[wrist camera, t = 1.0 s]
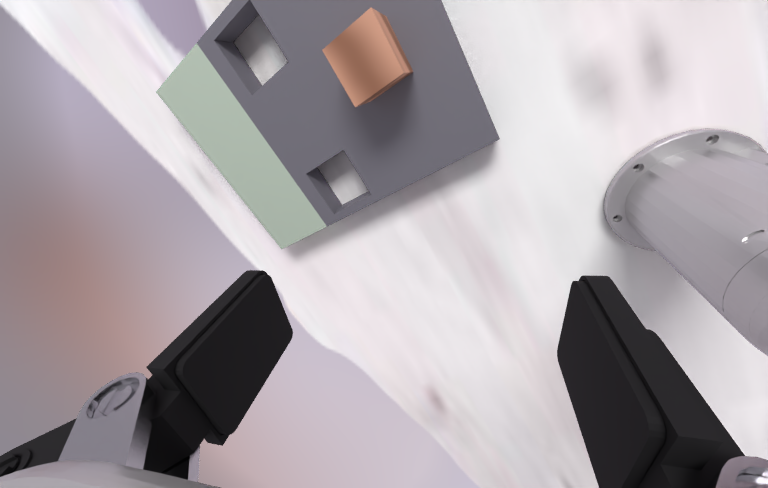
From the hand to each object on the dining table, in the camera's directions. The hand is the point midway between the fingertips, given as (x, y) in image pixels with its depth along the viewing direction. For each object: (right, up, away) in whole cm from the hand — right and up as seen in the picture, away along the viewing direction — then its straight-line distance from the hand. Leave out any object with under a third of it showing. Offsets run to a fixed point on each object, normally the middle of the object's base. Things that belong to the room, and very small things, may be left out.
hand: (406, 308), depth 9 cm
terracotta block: (-1, +19, +19) cm, 27 cm away
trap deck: (-8, +18, +25) cm, 32 cm away
